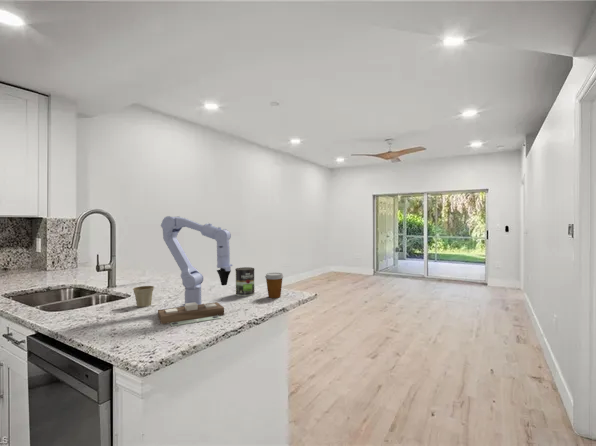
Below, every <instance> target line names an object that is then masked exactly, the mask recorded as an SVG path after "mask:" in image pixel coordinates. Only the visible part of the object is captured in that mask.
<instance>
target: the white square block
mask: <svg viewBox="0 0 596 446" xmlns="http://www.w3.org/2000/svg"><path fill="white" fill-rule="evenodd" d="M210 303H211V304H207V303H203V304H204V307H205V308H212V307H217V305H216V304H214V303H215V302H210Z"/></svg>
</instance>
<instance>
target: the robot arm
mask: <svg viewBox="0 0 596 446" xmlns="http://www.w3.org/2000/svg"><path fill="white" fill-rule="evenodd" d="M160 228H162V238H163V241H164V243H165V245H166V246H167V249H169V252H170V253H171V256H172V257H173V259H174V260H175V262H176V264H177V266H178V268H179V270H180V271H181V273H180V278H181V280H182V282H181V283H182V285H183V287H184V303H183V304H182V307H185V304H186V303H194V302H196V303H197V304H198V305H200V304H202V283H203V281H204V275H203V273H201V272H200V271H199V270H198V269H197V268H196V267H195V266H193V265H192V263H191V261H190V259H189V258H188V255H187V254H186V252H185V250H184V249H183V247H182V244H180V242H179V240H178V234H179V233H180V231H181V230H182V229H183V228H188V229H191V230H194V231H198V232H200V233H201V235H202V236H204V237H206V238H209V239H212V240H215V242H216V263H217V264H216V268H217V269H216V272H217V274H218V277H219V279H220V280H219V281H220V284H221V286H227V284H228V280H229V276H230V274H231V272H232V269H231V267H233V264H232V263H231V256H230V255H231V253H230V252H231V251H230V250H231V249H230V240H231V238H232V234H231V232H230V231H229V230H227V229H226V228H223V229H222V227H220V226H218V227H217V226H215V225H213V223H209V222H208V223H205V224H201V223H198V222H196V221H194V220H191V219H189V218H186V217H181V216H180V215H179V216H170V215H167V216H165V217H164V218H162V221H161V224H160Z"/></svg>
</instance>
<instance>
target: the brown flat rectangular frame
mask: <svg viewBox="0 0 596 446" xmlns="http://www.w3.org/2000/svg"><path fill="white" fill-rule="evenodd" d="M211 303H212V302H209V303H208V302H207V303H206V304H211ZM213 303H214V304H216V305H217V307H212V308H205V307H204V304H205V303H201V304H200V305H198V309H197V310H190V311H186V310H185V307H184V306H179V307H172V308H171V307H170V308H168V309H174V308H176V309H177V310H178V312H176V313H169V314H165V310H166V309H167V308H163V309H158V310H157V318H158V320H159V322H160V324H161V325H164V324H170V323H172V322H179V321H185V320H192V319H198V318H205V317H211V316H224V315H225V307H224V306H223V305H222V304H220V303H219V302H213Z"/></svg>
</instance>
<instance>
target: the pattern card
mask: <svg viewBox="0 0 596 446" xmlns="http://www.w3.org/2000/svg"><path fill="white" fill-rule="evenodd" d="M220 319H221V317H220V315H218V316H211V317H205V318H198V319H192V320H185V321H179V322H172V323H169V325H170V326H171V327H177V326H182V325H188V324H195V323H201V322H202V323H203V322H208V321H214V320H220Z"/></svg>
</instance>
